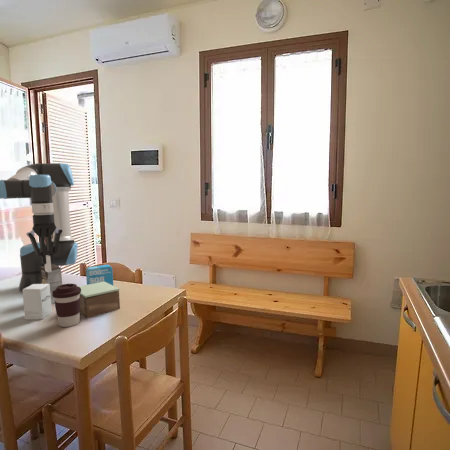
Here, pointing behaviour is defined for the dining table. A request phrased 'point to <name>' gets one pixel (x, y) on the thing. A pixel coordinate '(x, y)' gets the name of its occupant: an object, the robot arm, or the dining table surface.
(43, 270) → the coffee box
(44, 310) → the supplement box
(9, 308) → the dining table surface
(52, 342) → the dining table surface
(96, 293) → the lid
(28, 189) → the robot arm
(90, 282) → the data package
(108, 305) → the box
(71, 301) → the coffee cup
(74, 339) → the dining table surface
